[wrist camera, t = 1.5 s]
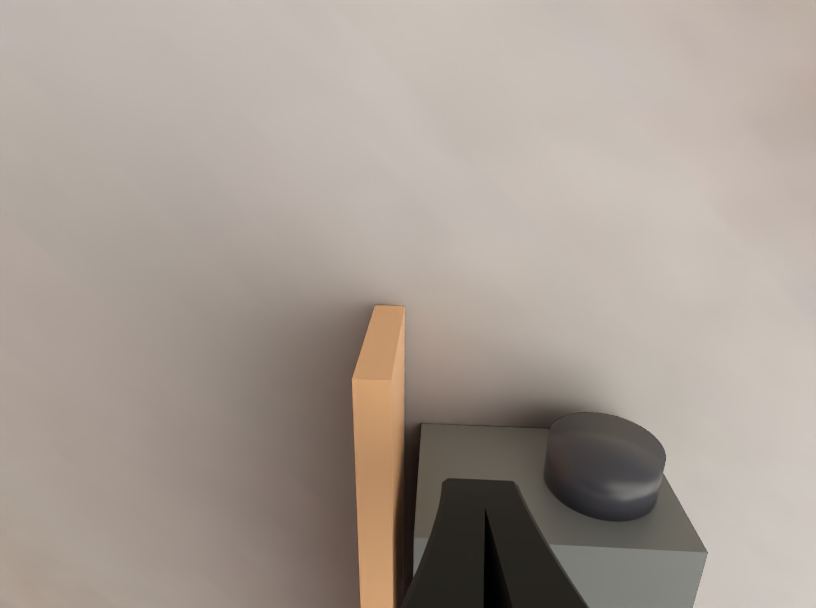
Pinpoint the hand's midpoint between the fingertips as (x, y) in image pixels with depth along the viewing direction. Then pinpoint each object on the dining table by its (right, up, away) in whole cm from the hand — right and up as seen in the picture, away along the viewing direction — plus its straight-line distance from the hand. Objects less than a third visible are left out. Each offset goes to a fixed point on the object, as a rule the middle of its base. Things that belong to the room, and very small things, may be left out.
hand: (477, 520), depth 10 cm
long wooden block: (-2, -4, +7) cm, 8 cm away
